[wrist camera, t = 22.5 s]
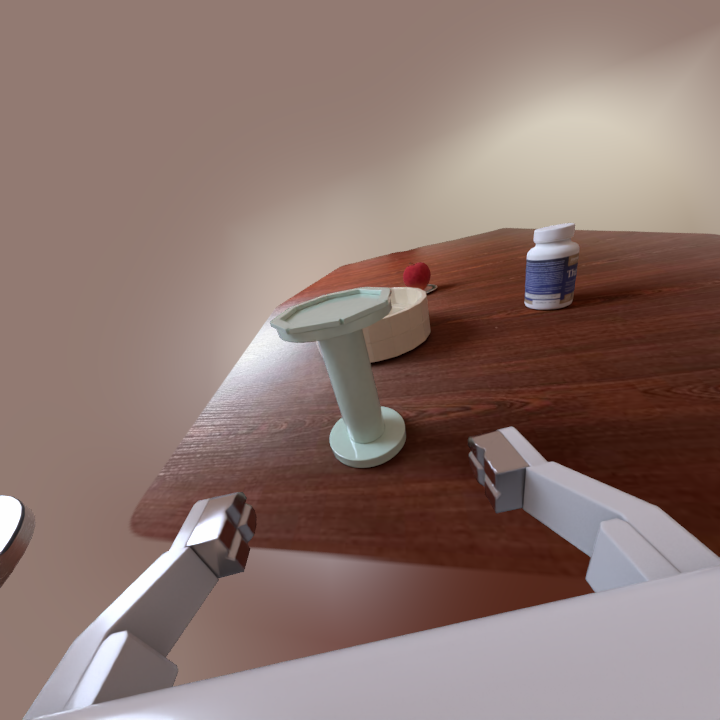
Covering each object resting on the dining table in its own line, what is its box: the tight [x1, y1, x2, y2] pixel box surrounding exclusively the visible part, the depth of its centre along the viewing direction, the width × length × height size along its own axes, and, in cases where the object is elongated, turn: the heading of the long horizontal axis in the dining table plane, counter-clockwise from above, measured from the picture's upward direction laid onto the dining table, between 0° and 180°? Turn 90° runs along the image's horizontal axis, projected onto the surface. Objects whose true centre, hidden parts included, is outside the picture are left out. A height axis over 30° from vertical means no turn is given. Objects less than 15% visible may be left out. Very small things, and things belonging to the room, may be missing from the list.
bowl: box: [316, 287, 431, 363], centre depth 37 cm, size 16×16×6 cm
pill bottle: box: [525, 223, 579, 310], centre depth 34 cm, size 5×5×10 cm
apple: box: [403, 262, 437, 293], centre depth 56 cm, size 8×8×6 cm
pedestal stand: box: [270, 287, 406, 468], centre depth 18 cm, size 7×7×11 cm
